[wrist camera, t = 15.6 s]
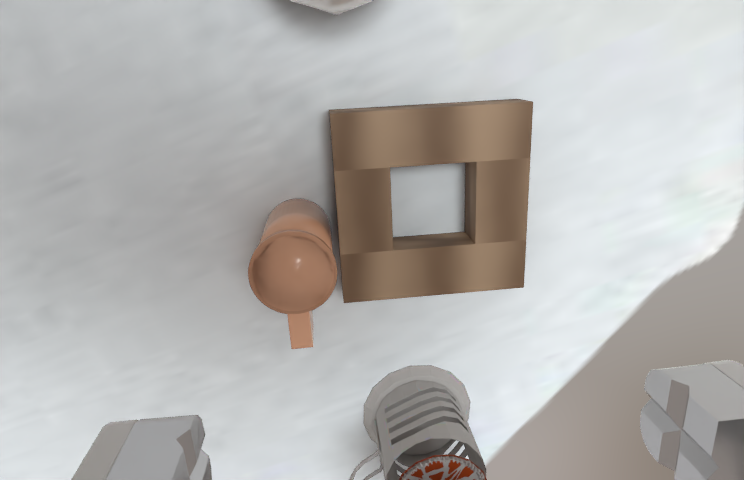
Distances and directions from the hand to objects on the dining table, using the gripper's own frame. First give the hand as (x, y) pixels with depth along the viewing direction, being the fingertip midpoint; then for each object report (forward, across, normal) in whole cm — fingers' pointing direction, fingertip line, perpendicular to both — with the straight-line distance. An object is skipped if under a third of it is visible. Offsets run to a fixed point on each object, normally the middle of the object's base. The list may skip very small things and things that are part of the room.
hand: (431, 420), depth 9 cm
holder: (+31, -6, +4) cm, 32 cm away
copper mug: (+31, +4, +7) cm, 32 cm away
